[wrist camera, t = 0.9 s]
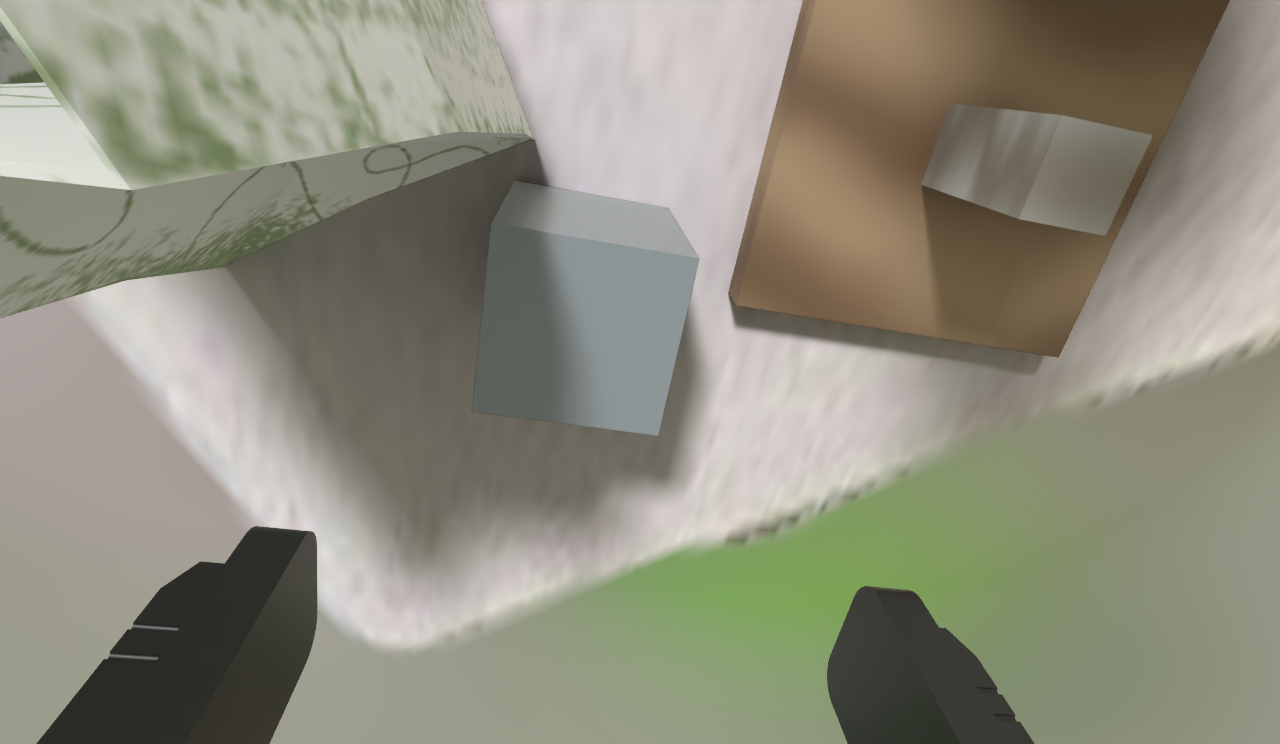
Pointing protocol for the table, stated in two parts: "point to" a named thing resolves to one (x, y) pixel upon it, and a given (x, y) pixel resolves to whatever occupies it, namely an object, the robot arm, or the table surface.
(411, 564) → the table surface
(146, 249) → the grocery bag
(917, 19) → the flat brown square board
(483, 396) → the slate grey cube
